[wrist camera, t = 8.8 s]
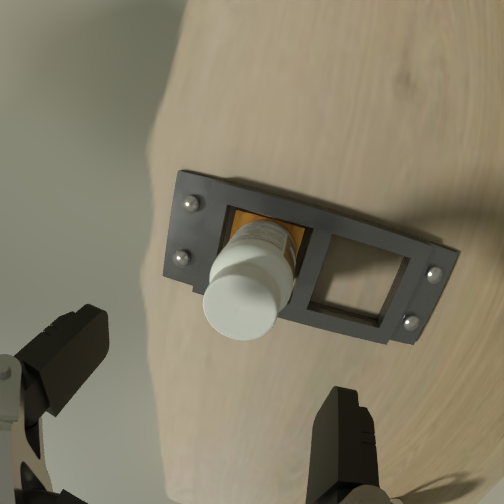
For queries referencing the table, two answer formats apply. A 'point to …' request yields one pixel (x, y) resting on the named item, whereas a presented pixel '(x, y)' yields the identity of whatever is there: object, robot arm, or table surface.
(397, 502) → the mug
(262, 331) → the pill bottle
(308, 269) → the metal frame plate
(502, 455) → the table surface
